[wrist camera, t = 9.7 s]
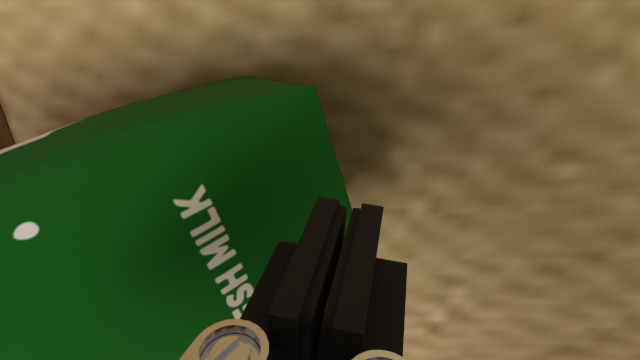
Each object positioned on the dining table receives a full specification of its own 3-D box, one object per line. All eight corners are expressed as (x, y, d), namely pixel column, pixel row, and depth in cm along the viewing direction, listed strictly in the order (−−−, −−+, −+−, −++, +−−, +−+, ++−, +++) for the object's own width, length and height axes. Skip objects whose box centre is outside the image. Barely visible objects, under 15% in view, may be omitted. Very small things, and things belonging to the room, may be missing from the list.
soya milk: (393, 302, 14) (-432, 864, 8) (290, 215, 22) (-164, 459, 15) (321, 52, 10) (-1388, 734, 4) (228, 53, 18) (-404, 286, 12)
